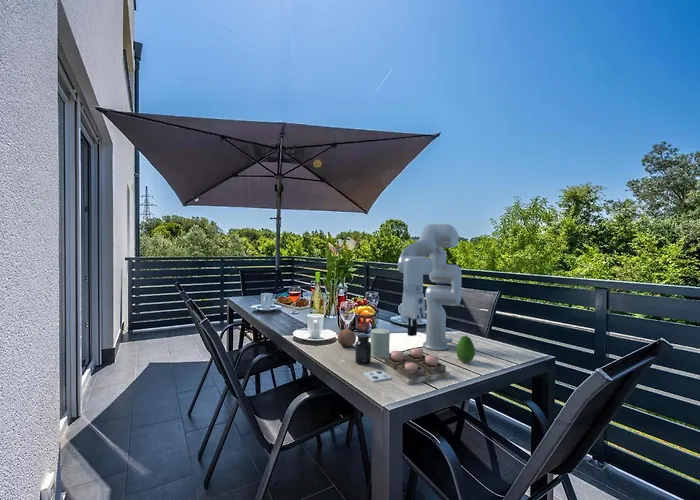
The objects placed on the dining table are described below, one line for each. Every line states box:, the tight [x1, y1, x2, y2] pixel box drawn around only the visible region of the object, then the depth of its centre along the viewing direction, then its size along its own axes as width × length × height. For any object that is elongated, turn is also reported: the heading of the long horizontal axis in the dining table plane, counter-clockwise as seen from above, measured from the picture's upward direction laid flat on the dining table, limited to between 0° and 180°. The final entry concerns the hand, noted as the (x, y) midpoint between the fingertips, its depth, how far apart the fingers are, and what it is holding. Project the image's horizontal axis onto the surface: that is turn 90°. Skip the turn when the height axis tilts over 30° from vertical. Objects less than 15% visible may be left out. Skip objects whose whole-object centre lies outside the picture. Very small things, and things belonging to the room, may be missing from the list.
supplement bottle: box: [354, 333, 372, 366], centre depth 149 cm, size 7×7×12 cm
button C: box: [390, 350, 405, 361], centre depth 143 cm, size 5×5×3 cm
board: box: [380, 353, 450, 385], centre depth 140 cm, size 20×20×4 cm
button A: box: [410, 347, 424, 358], centre depth 147 cm, size 5×5×3 cm
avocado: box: [455, 335, 476, 364], centre depth 152 cm, size 8×8×12 cm
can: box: [370, 327, 391, 359], centre depth 160 cm, size 9×9×12 cm
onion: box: [337, 327, 357, 348], centre depth 172 cm, size 10×9×10 cm
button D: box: [405, 362, 418, 371], centre depth 134 cm, size 5×5×3 cm
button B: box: [425, 354, 439, 366], centre depth 138 cm, size 5×5×3 cm
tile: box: [363, 369, 392, 383], centre depth 134 cm, size 8×8×1 cm
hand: (412, 335), depth 134 cm, fingers closed
